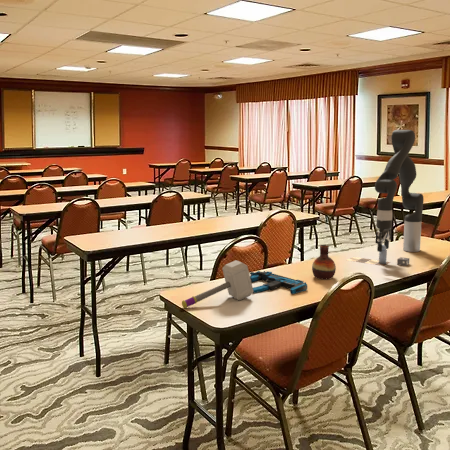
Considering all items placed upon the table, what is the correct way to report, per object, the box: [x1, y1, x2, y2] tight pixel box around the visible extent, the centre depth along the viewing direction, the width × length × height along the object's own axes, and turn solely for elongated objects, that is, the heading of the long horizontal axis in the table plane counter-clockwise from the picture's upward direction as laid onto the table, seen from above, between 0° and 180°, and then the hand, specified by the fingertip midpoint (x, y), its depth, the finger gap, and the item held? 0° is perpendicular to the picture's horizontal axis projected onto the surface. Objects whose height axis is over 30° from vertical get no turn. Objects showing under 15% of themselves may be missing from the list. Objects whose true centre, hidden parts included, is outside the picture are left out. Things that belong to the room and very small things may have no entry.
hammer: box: [181, 259, 254, 309], centre depth 219 cm, size 15×8×30 cm
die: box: [396, 256, 410, 267], centre depth 272 cm, size 5×5×5 cm
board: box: [347, 256, 391, 267], centre depth 280 cm, size 10×21×1 cm, turn 51°
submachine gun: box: [249, 270, 308, 295], centre depth 243 cm, size 34×4×25 cm
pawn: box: [378, 244, 388, 265], centre depth 274 cm, size 4×4×10 cm
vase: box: [311, 244, 337, 281], centre depth 254 cm, size 11×11×15 cm
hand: (383, 250), depth 273 cm, fingers open, 8 cm apart
